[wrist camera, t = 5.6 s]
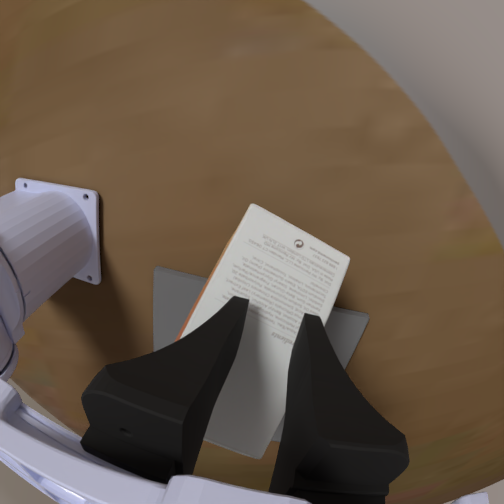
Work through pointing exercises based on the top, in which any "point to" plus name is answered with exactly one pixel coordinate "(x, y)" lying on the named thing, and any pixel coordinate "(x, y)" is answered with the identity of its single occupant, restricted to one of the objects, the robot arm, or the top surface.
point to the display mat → (187, 291)
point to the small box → (264, 320)
